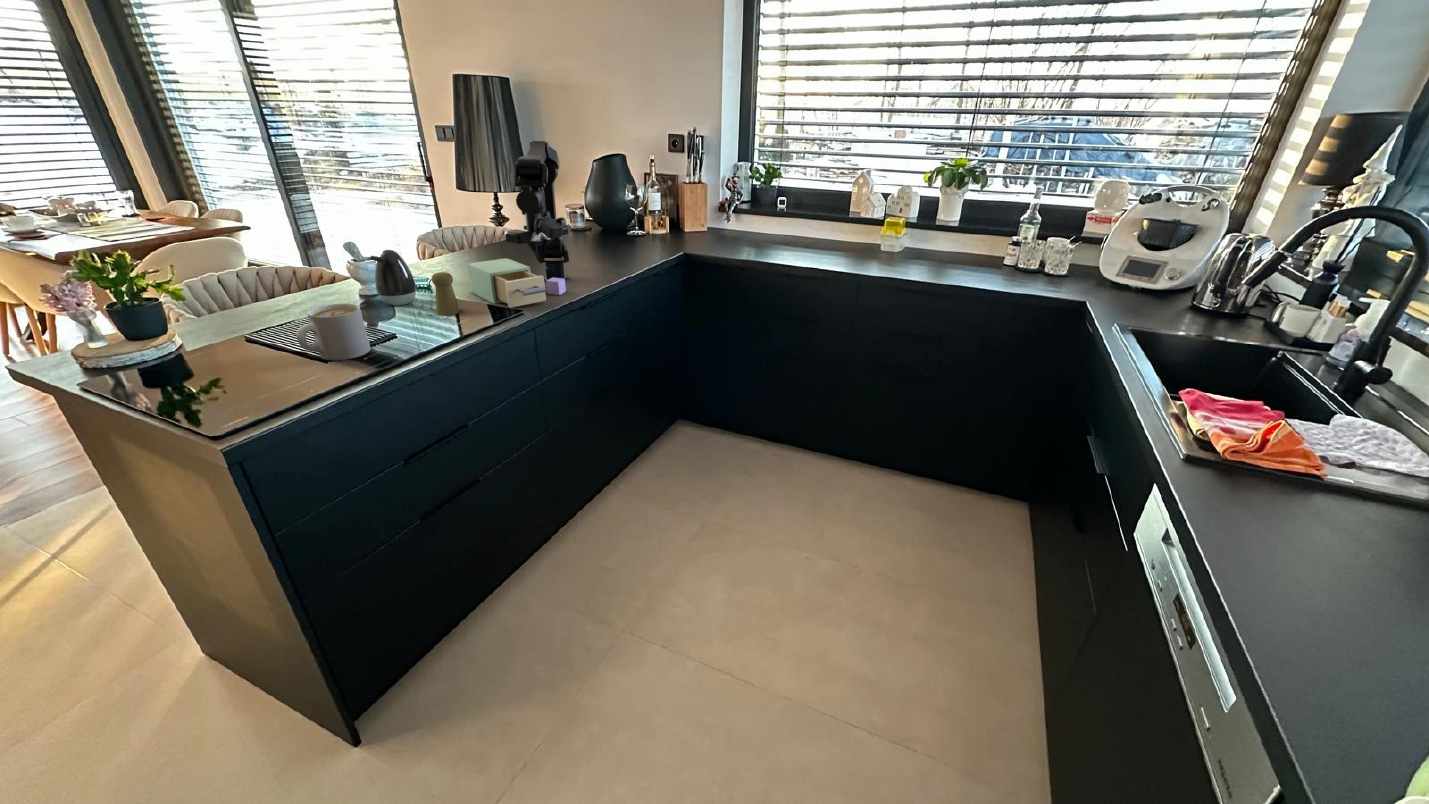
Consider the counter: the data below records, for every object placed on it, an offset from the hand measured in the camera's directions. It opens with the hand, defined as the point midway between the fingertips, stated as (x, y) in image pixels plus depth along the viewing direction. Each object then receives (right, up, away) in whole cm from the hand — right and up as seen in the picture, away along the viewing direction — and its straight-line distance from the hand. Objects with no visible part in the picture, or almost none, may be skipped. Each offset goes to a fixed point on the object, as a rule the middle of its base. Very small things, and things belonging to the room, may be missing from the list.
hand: (541, 262), depth 162 cm
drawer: (-6, -11, +2) cm, 13 cm away
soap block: (+1, -6, +13) cm, 15 cm away
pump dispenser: (-41, -12, -1) cm, 42 cm away
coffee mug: (-35, -30, -36) cm, 59 cm away
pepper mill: (-24, -16, -7) cm, 29 cm away
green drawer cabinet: (-15, -8, +9) cm, 19 cm away
